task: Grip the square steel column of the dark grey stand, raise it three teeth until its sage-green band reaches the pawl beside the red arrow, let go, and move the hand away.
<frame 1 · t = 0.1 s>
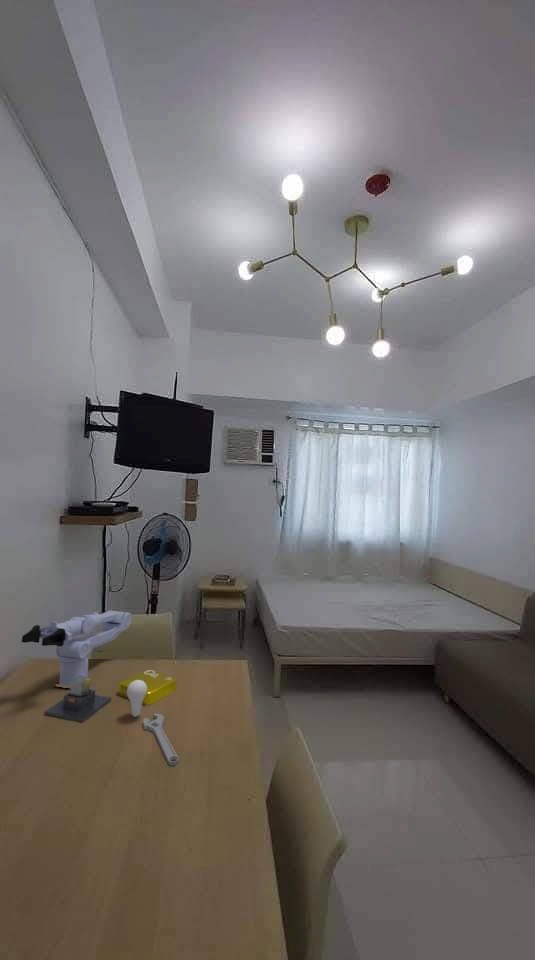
hand: (32, 640, 132), 22 cm above the table, tool horizontal, fingers open, 7 cm apart
stand column: (80, 691, 134), point 5 cm above the table, slide at 0.0 cm
lightbulb: (135, 717, 130), on the table
stand base: (79, 707, 134), on the table
adjustable wrench: (158, 742, 118), on the table
element tile: (147, 693, 146), on the table
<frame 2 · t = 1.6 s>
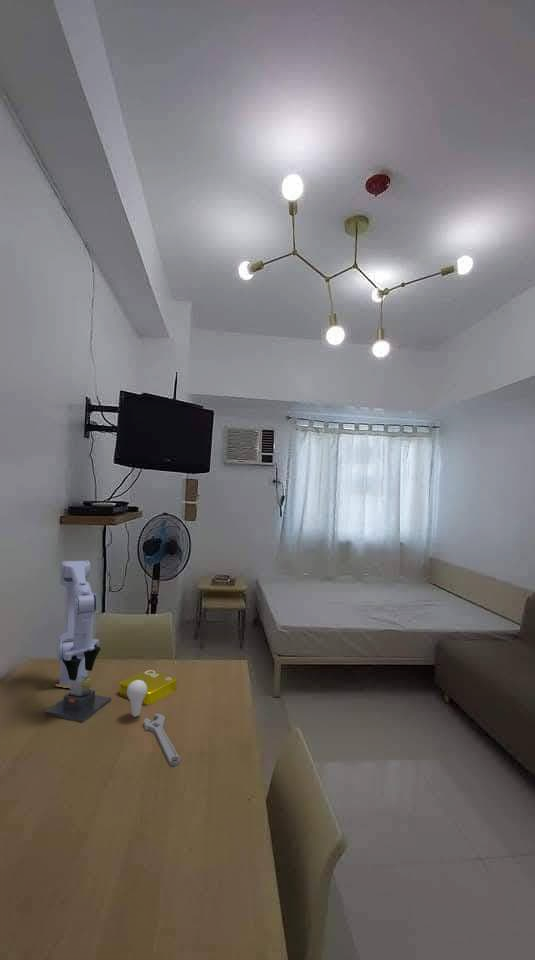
hand: (80, 674, 134), 10 cm above the table, tool pointing down, fingers open, 7 cm apart
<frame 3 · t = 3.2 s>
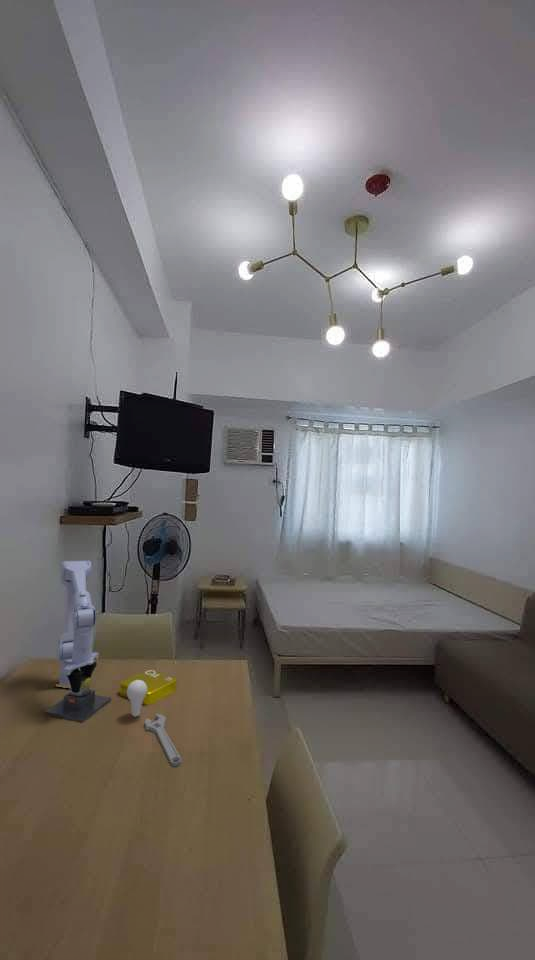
hand: (80, 688, 134), 6 cm above the table, tool pointing down, fingers closed on stand column, 4 cm apart
stand column: (80, 691, 134), point 5 cm above the table, slide at 0.0 cm, touching gripper
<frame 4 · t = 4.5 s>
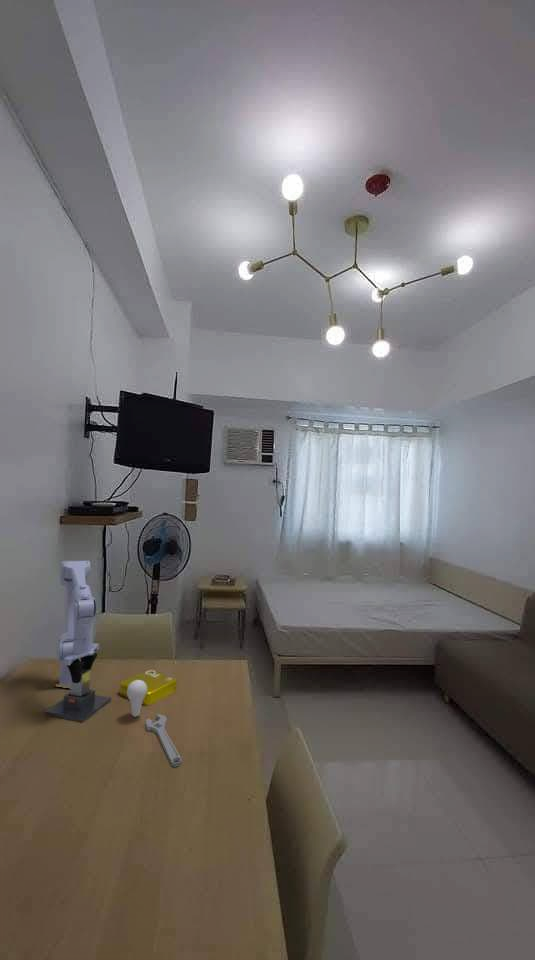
hand: (80, 679, 134), 9 cm above the table, tool pointing down, fingers closed on stand column, 4 cm apart
stand column: (80, 684, 134), point 7 cm above the table, slide at 2.4 cm, touching gripper
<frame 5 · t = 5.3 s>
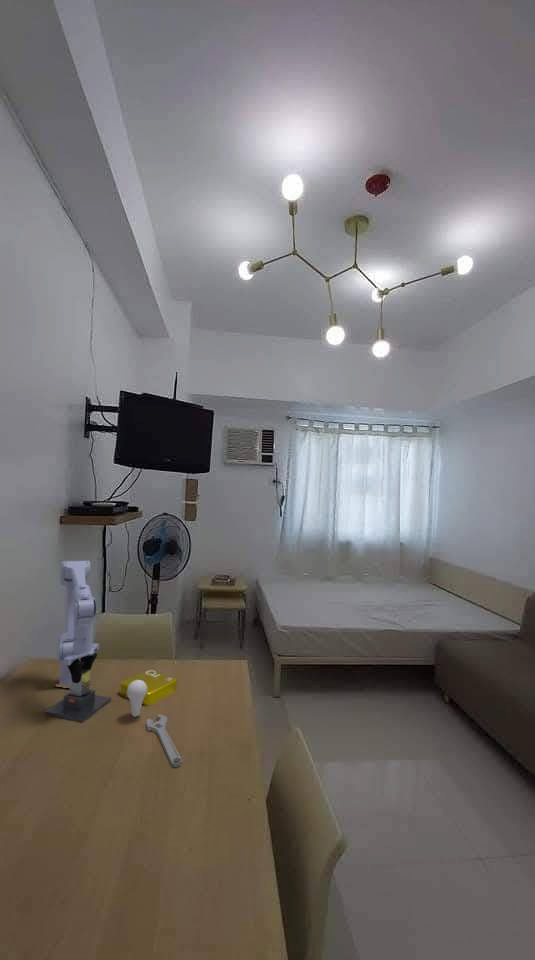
hand: (80, 679, 134), 9 cm above the table, tool pointing down, fingers closed on stand column, 4 cm apart
stand column: (80, 684, 134), point 7 cm above the table, slide at 2.4 cm, touching gripper
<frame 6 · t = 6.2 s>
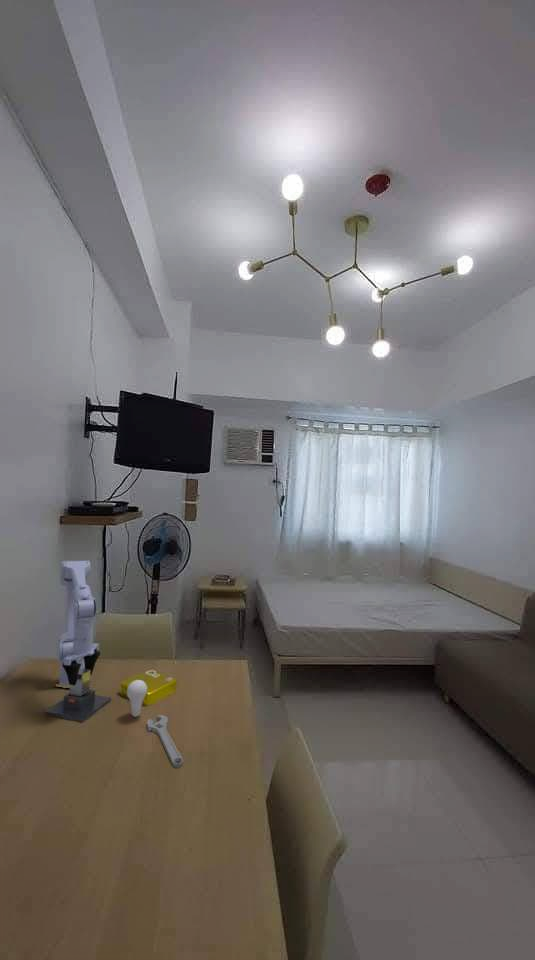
hand: (80, 679, 134), 9 cm above the table, tool pointing down, fingers open, 7 cm apart
stand column: (80, 684, 134), point 7 cm above the table, slide at 2.4 cm
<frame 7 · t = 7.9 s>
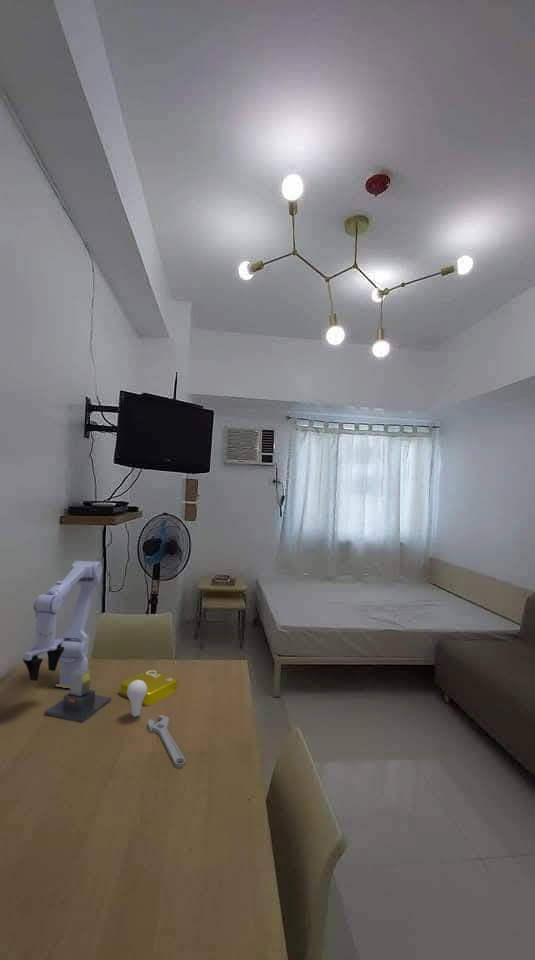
hand: (43, 674, 133), 10 cm above the table, tool pointing down, fingers open, 7 cm apart
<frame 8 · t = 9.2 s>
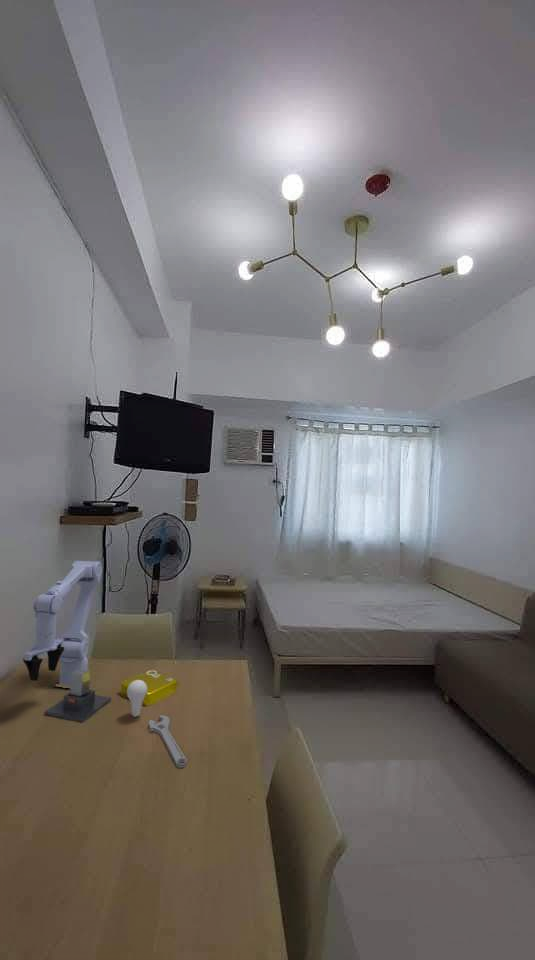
hand: (43, 674, 133), 10 cm above the table, tool pointing down, fingers open, 7 cm apart
at the end: stand column slide at 2.4 cm; the gripper is holding nothing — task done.
